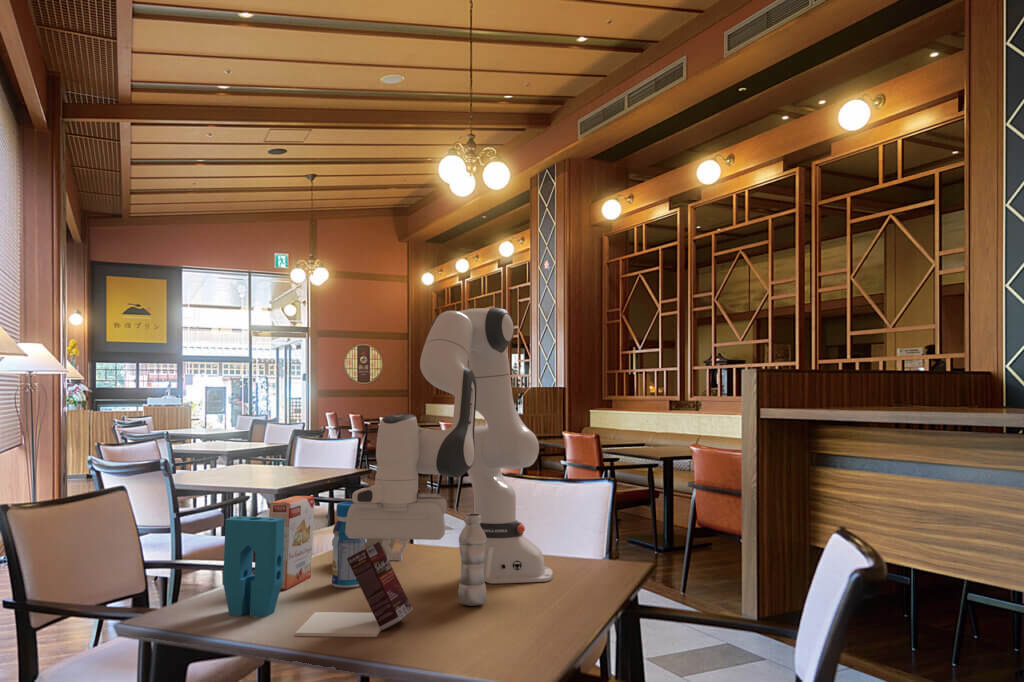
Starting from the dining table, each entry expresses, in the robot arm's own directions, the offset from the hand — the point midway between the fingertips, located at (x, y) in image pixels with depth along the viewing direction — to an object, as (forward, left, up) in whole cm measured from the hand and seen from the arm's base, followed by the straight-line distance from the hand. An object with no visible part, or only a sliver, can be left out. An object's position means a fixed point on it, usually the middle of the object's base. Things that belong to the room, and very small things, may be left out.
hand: (394, 561), depth 151 cm
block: (+32, -8, -13) cm, 36 cm away
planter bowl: (+17, -57, -13) cm, 61 cm away
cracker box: (+32, -34, -13) cm, 49 cm away
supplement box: (-1, 0, -12) cm, 12 cm away
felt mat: (+10, 0, -13) cm, 16 cm away
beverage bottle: (+17, -33, -13) cm, 40 cm away
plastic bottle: (-15, -16, -13) cm, 26 cm away
